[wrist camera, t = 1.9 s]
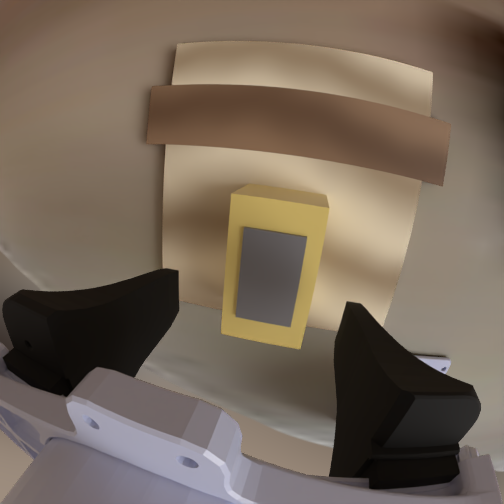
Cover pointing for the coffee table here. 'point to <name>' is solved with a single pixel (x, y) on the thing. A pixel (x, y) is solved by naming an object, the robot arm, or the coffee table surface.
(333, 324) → the subfloor
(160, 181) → the coffee table surface
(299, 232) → the stud finder
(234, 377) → the coffee table surface
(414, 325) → the coffee table surface
